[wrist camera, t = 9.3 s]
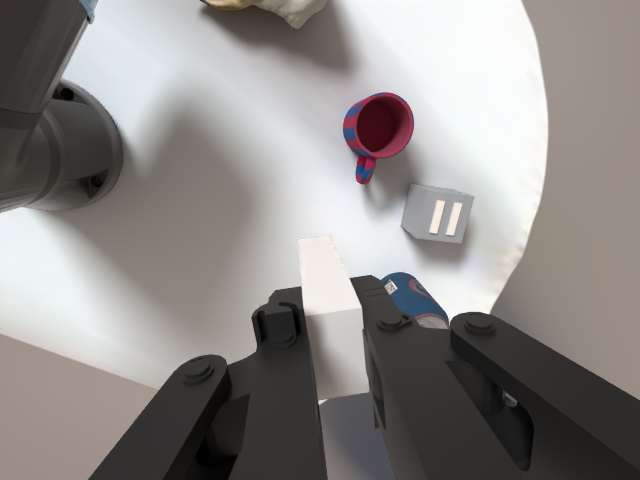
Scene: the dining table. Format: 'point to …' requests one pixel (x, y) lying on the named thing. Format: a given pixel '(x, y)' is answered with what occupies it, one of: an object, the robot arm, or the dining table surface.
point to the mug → (377, 130)
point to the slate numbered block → (436, 213)
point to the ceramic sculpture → (275, 8)
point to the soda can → (415, 300)
